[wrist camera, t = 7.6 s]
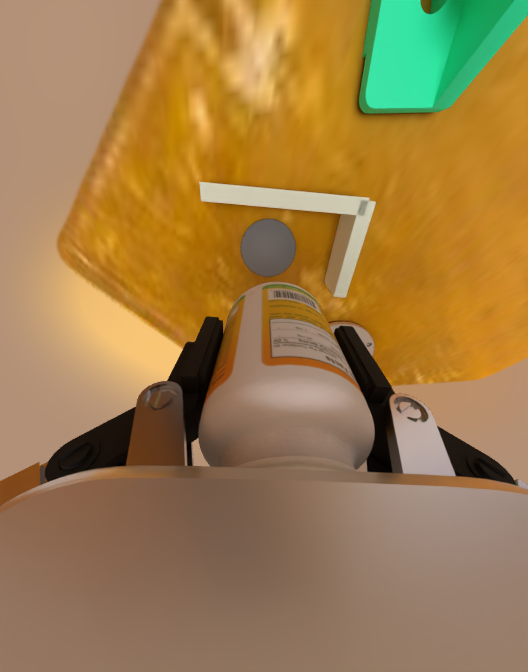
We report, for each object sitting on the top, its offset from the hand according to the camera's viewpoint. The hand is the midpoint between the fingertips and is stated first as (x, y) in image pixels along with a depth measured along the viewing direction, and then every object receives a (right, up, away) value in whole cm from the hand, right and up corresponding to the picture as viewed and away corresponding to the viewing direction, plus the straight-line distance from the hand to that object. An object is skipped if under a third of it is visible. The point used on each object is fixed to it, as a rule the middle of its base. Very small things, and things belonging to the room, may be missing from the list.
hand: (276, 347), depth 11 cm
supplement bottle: (0, +1, +2) cm, 2 cm away
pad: (0, +12, +17) cm, 21 cm away
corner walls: (+1, +13, +16) cm, 21 cm away
